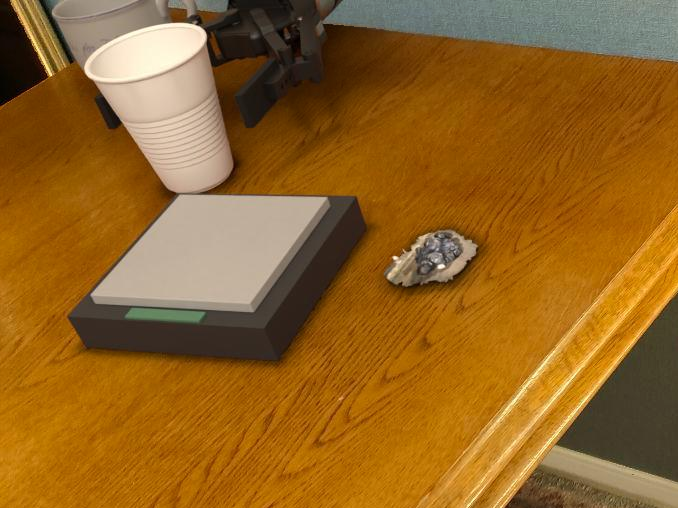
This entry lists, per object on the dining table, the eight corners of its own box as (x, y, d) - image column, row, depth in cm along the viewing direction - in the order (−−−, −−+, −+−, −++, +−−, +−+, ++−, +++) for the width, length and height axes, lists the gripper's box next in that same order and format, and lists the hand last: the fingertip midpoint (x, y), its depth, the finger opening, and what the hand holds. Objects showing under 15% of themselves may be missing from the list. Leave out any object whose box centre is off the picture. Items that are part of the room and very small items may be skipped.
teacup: (70, 101, 103) (28, 20, 97) (121, 52, 109) (85, -26, 103) (188, 96, 99) (152, 12, 93) (233, 46, 106) (203, -35, 100)
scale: (85, 347, 73) (60, 307, 70) (191, 223, 82) (173, 183, 80) (278, 361, 68) (259, 318, 65) (366, 228, 78) (353, 185, 75)
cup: (146, 221, 84) (81, 92, 75) (144, 167, 90) (84, 43, 82) (261, 188, 84) (210, 56, 76) (250, 137, 91) (202, 11, 83)
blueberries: (380, 299, 71) (373, 276, 70) (394, 236, 76) (387, 214, 75) (474, 288, 70) (468, 265, 69) (481, 225, 75) (476, 203, 74)
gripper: (410, 38, 95) (320, 155, 82) (186, 46, 102) (72, 155, 89) (389, -48, 89) (290, 63, 77) (154, -33, 96) (27, 71, 84)
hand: (172, 113), depth 83 cm, fingers open, 13 cm apart
